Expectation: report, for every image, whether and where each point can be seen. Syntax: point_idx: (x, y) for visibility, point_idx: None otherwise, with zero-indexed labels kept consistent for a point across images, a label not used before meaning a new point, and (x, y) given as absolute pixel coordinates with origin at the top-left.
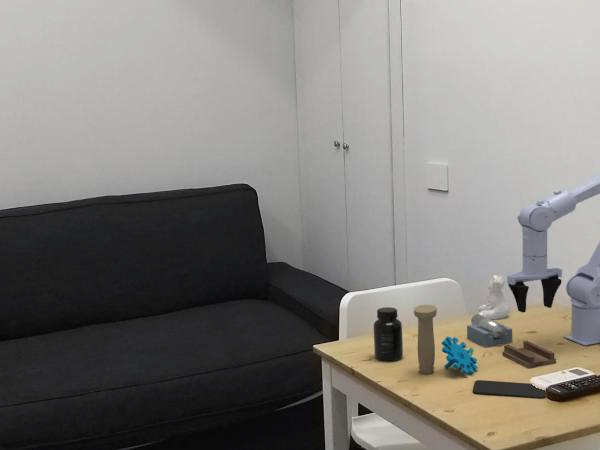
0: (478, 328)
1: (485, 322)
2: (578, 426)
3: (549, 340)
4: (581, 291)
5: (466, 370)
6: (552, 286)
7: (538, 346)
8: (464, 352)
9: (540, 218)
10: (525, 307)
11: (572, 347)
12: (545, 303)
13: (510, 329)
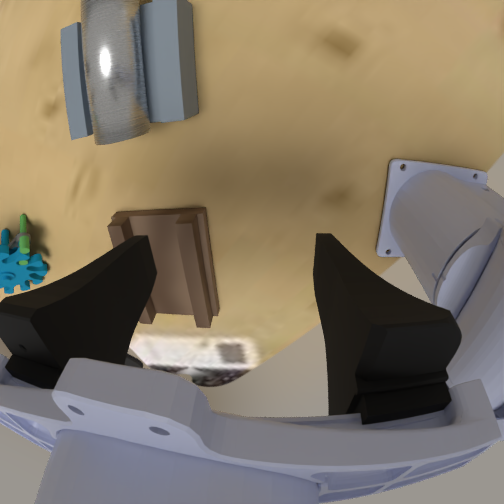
0: (75, 73)
1: (86, 72)
2: None
3: (332, 155)
4: (461, 365)
5: (27, 288)
6: (329, 399)
7: (197, 278)
8: (11, 268)
9: None
10: (145, 296)
11: (342, 243)
12: (318, 255)
13: (176, 120)
